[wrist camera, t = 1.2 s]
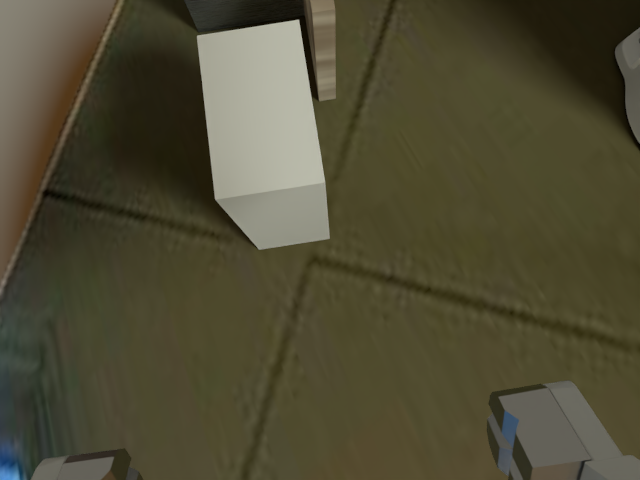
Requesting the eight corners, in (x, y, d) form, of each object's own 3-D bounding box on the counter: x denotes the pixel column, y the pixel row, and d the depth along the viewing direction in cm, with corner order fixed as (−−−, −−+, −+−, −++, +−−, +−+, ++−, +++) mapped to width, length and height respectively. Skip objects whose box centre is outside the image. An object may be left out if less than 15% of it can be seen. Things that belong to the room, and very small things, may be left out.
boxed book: (329, 238, 41) (325, 182, 26) (259, 249, 41) (215, 199, 26) (312, 128, 43) (298, 19, 28) (244, 138, 43) (196, 35, 28)
